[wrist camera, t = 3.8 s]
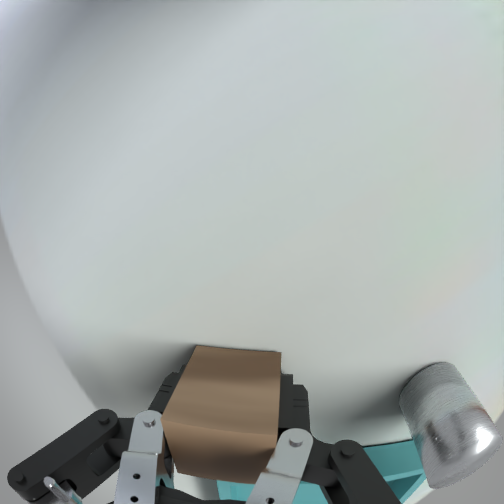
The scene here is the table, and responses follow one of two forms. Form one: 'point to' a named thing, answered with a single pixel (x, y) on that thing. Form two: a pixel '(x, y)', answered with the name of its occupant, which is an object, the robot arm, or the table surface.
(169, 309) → the table surface
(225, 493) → the parts tray
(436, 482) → the metal cylinder
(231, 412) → the walnut block
